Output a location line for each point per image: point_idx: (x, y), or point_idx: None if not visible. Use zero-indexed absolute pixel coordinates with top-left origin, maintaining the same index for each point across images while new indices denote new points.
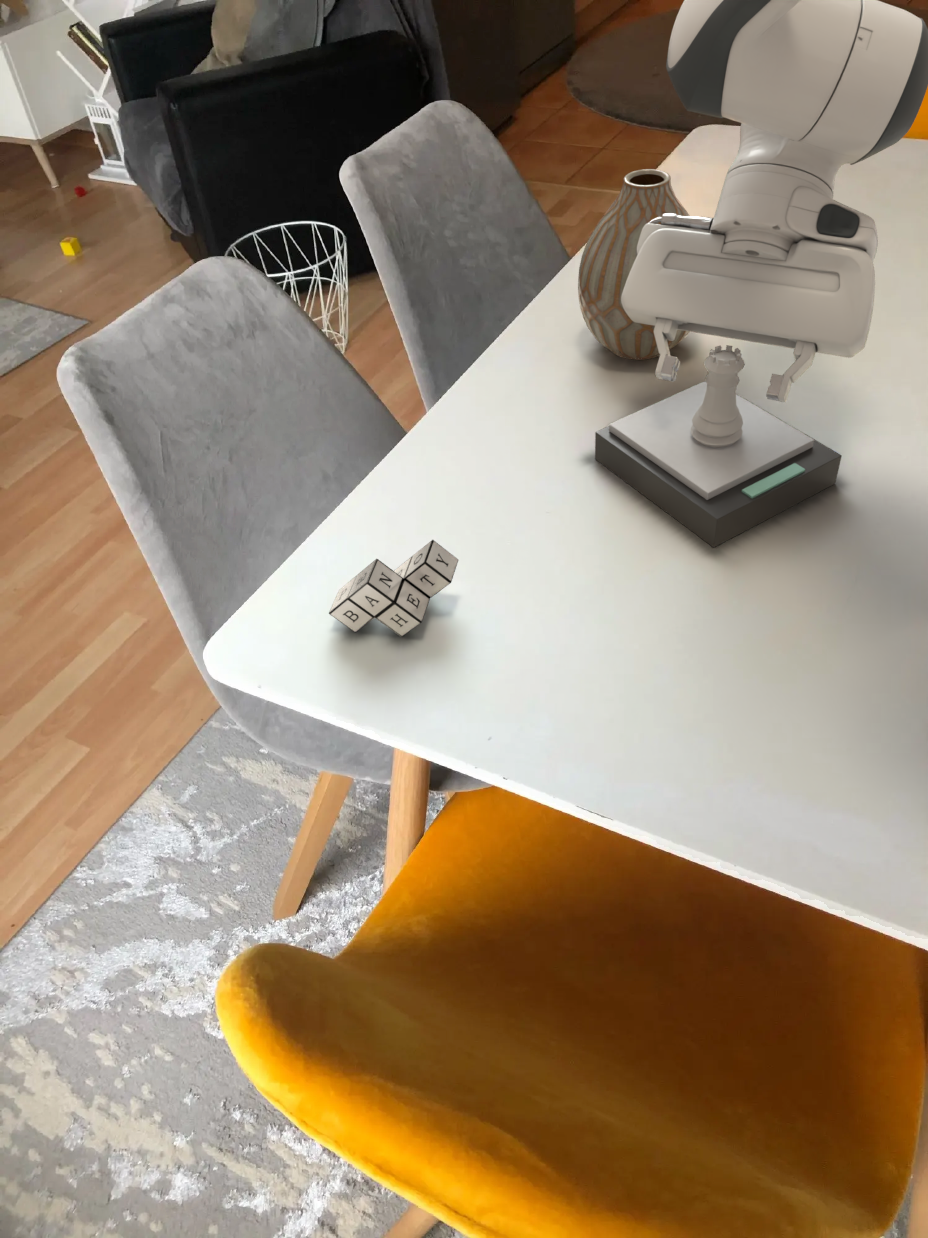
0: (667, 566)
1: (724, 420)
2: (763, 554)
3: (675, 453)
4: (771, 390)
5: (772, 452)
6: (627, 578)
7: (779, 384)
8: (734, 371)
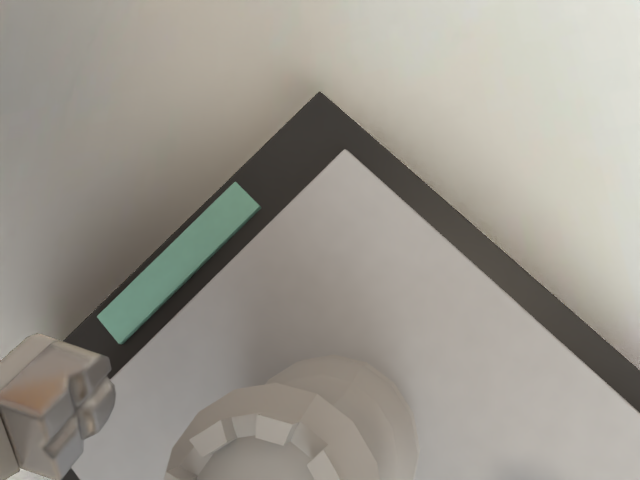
0: (425, 57)
1: (296, 382)
2: (231, 128)
3: (455, 324)
4: (77, 356)
5: (168, 358)
6: (506, 6)
7: (31, 367)
8: (214, 403)
